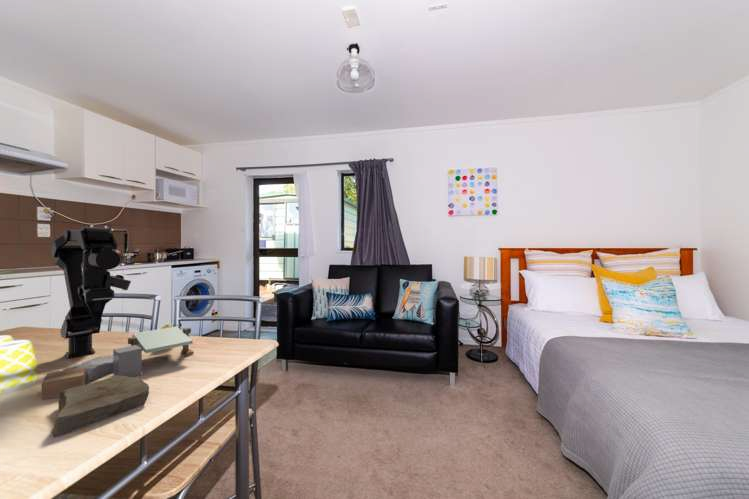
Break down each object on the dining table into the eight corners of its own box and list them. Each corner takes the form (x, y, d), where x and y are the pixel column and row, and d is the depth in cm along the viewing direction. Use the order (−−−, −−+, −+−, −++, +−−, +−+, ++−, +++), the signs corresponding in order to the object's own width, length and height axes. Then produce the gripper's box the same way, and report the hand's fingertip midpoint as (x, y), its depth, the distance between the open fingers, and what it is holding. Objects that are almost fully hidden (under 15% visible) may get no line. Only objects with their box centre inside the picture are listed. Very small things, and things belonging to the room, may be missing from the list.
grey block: (113, 376, 85) (113, 349, 85) (135, 371, 89) (135, 344, 89) (118, 381, 82) (118, 353, 82) (141, 375, 86) (141, 348, 86)
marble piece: (54, 440, 57) (54, 417, 57) (35, 416, 66) (35, 396, 66) (157, 403, 71) (157, 384, 71) (131, 387, 79) (131, 370, 79)
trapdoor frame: (125, 364, 93) (125, 336, 93) (187, 351, 106) (188, 326, 106) (129, 369, 90) (129, 340, 90) (193, 354, 103) (193, 328, 103)
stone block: (56, 388, 82) (91, 382, 81) (53, 370, 82) (88, 363, 81) (99, 372, 94) (130, 366, 93) (97, 356, 94) (128, 350, 93)
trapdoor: (132, 348, 98) (132, 333, 97) (175, 340, 107) (176, 326, 106) (145, 366, 88) (145, 349, 88) (191, 356, 97) (192, 340, 97)
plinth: (47, 389, 77) (47, 373, 77) (85, 381, 81) (85, 366, 81) (41, 400, 72) (41, 382, 72) (83, 391, 76) (83, 375, 76)
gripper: (135, 268, 95) (135, 319, 95) (122, 266, 108) (121, 311, 108) (86, 270, 87) (86, 326, 87) (77, 267, 99) (77, 316, 99)
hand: (95, 319), depth 96 cm, fingers open, 9 cm apart
